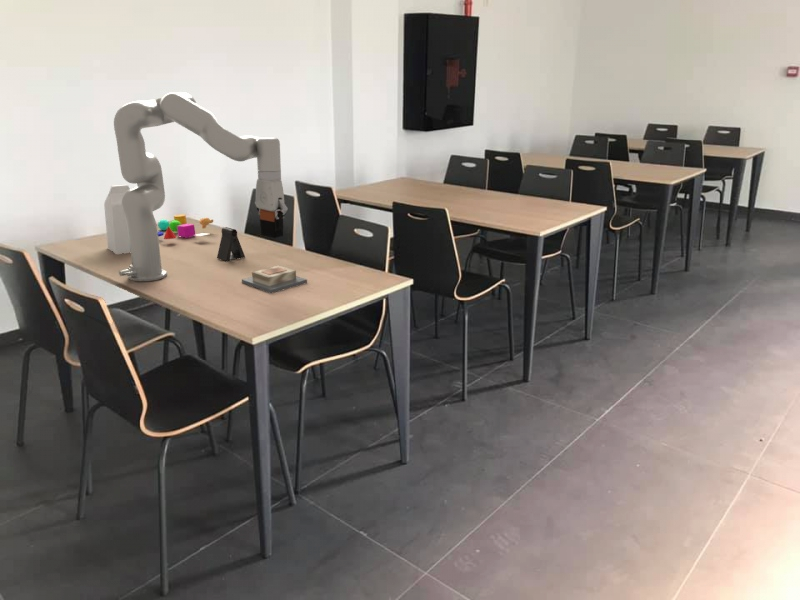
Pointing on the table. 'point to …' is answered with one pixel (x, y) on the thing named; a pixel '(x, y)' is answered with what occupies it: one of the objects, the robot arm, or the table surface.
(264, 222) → the battery
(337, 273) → the table surface
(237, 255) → the phone stand
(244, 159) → the robot arm
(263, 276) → the plinth
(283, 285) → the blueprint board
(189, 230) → the shape set
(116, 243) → the milk
